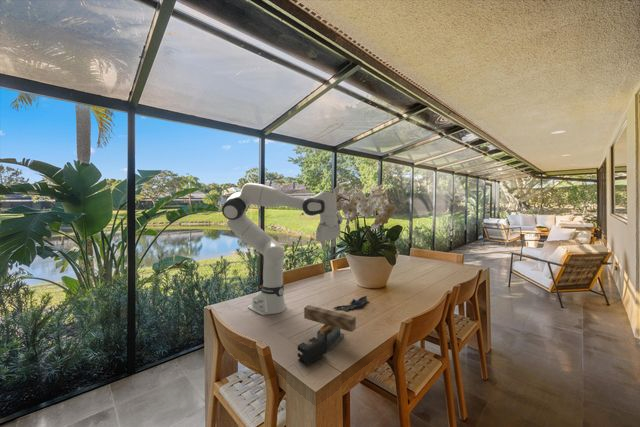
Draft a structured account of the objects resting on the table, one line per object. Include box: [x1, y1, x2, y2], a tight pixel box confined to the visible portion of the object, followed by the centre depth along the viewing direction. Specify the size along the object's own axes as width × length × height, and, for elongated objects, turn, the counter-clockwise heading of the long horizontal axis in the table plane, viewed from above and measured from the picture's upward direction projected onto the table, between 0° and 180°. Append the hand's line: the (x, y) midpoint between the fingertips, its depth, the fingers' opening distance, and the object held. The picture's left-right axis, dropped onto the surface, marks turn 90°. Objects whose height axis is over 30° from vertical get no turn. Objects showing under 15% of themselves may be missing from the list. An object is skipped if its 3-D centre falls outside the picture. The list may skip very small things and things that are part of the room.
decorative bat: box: [332, 295, 370, 312], centre depth 152 cm, size 30×4×10 cm
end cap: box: [297, 337, 328, 366], centre depth 101 cm, size 10×7×7 cm
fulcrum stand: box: [316, 324, 345, 351], centre depth 114 cm, size 8×13×8 cm, turn 149°
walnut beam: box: [303, 304, 357, 333], centre depth 114 cm, size 24×4×5 cm, turn 59°
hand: (328, 247), depth 137 cm, fingers open, 8 cm apart
